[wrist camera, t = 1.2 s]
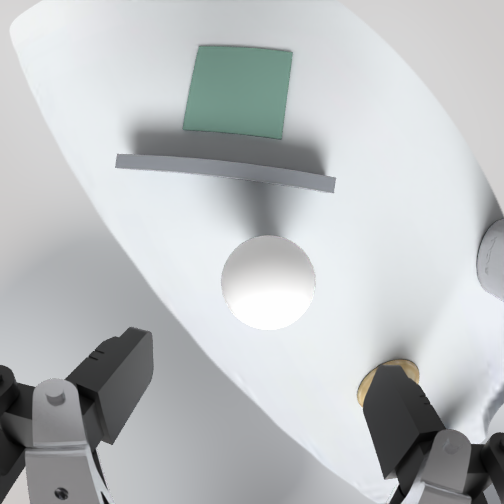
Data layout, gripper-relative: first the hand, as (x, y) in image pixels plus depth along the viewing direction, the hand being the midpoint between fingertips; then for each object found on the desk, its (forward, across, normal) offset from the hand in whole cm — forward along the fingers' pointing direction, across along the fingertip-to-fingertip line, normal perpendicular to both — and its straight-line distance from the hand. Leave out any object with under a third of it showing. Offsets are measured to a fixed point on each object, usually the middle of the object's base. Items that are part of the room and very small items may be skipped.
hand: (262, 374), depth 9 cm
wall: (+18, +5, -7) cm, 20 cm away
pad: (+18, +5, -15) cm, 24 cm away
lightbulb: (+18, 0, 0) cm, 18 cm away
